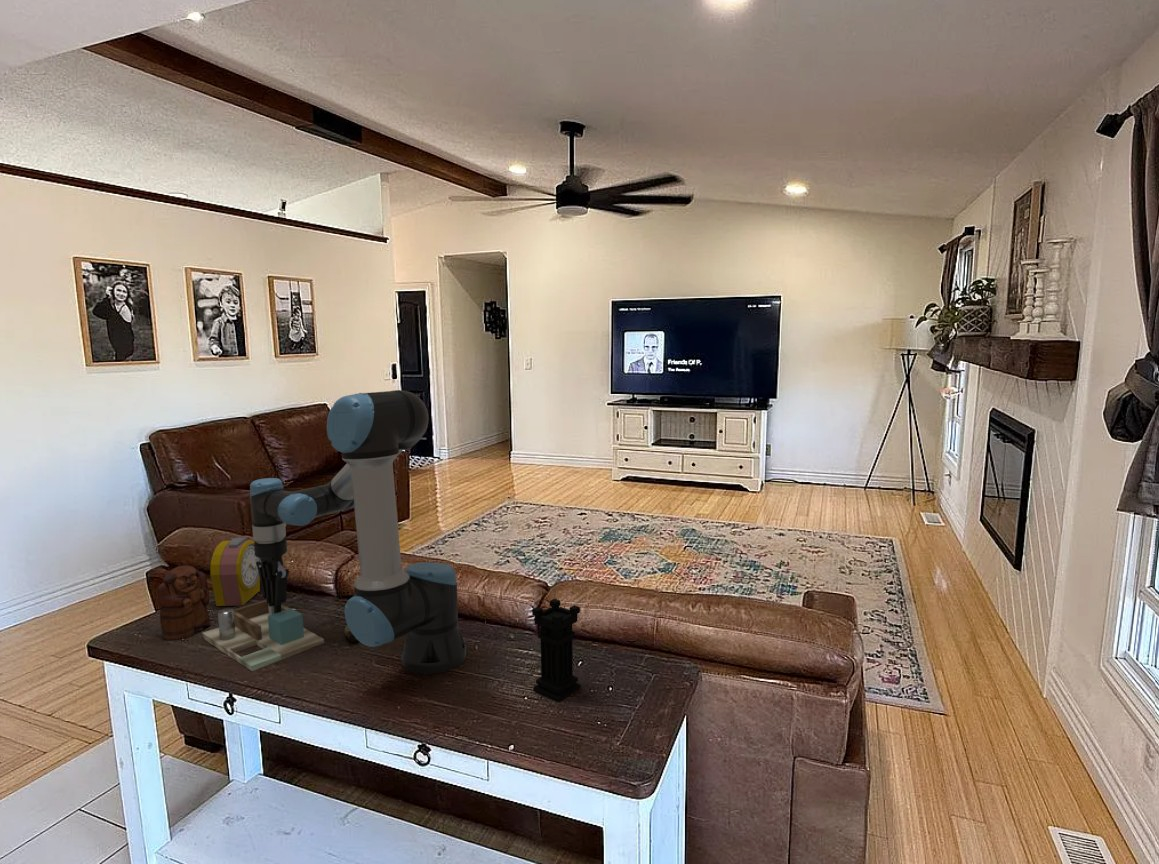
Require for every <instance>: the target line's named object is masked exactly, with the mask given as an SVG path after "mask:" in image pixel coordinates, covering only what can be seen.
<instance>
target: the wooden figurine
mask: <svg viewBox="0 0 1159 864" xmlns="http://www.w3.org/2000/svg"><path fill="white" fill-rule="evenodd" d="M162 581H163V582H162V583H161V584H160V585H159V586H158V587H157V604H158V605H160V606H161V607H160V610H159V619H160V620H159V621H160V627H161V631H162V634H163V638H164V639H165V640H170V641H171V640H182V639H186V638H189V637H193V635H194V634H198V633H199V632H201V631H203V630H204V629H205V628H206V627H210V626H211V625H212V624H211V620H210V619H211V618H210V614H209V610H208V607H207V605H209V603H210V590H209V588H208V587H209V586H208V580H207V575H206V574H205V572H203V571H200V570H198V569H197V568H196V567H193V566H190V565H180V566H176V567H174V568H172V569H171V570H169V571H168V572H167V573H166V574H165V576H164V577H163V578H162Z"/></svg>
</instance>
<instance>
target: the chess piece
mask: <svg viewBox="0 0 1159 864" xmlns="http://www.w3.org/2000/svg"><path fill="white" fill-rule="evenodd" d="M580 613H581V607H580V606H578V605H575V604H573V605H571V606H569V609H567V608H566V607H562V606H561V599H560V600H559V599H557V598H553V599H551V600H549V607H548V608H545V609H543V608H542V607H539V606H536V607H534V608H532V610H531V614H532V616H534V624H535V625H538V626H540V630H539V631H540V632H539V633H537V638H538V639H540V676H539V677H538V678H537V679H535V684H536V685H534V686H533V692H536V693H538V694H540V695H543V696H544V697H546V698H549V699H551V700H553V701H555V702H557V703H560V702H561V701H563V700H565V699H566V698H567V697H569V696H570V695H572V694H574V693H575V692H577V691H578V690H579V689H581V687H582V685H581V684H580V683H578V681H579V677H578V676H574V672H573V671H574V670H573V663H574V661H573V655H574V654H573V638H574V637H575V636H576V632H575V631H573V625H574V624H575V623H577V622H578V618H579V617H578V614H580Z"/></svg>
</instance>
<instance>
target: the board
mask: <svg viewBox="0 0 1159 864" xmlns="http://www.w3.org/2000/svg"><path fill="white" fill-rule="evenodd" d="M268 616H269V613H266V614H263V615H260V616H257V617H254V618H251V619H249V620H251V621H253V622H255V623H256V624H258V625H260V626H261V632H262V640H259V641H258V640H256V639H254V638H253V637H251V636H250V635H248V634H246V633H245V632H243V631H241V630H240V629H238V628H237V627H235V634H236V636H235V638H233V639H230V640H226V641H222V640H220V637H219V626H218V627H216V628H213V629H210V630H207V631H203V632H202V633H201V634H202V639H203V640H204V641H206V642H208V643H209V644H210V645H212V646H213V647H215V648H216V649H217V650H219V651H220V652H222V653H224V654H225V655H226V656H228V657H229V658H232V660H234V661H236V662H238V663H239V664H240V665H242V666H244V667H245V668H246V669H248V670H250V671H251V672H254V671H257V670H258V669H261V668H264V667H267V666H269V665H271V664H274V663H277V662H280V661H281V660H284V659H288V658H290V657H292V656H295V655H297V654H299V653H303V652H305V651H308V650H310V649H314V648H315V647H318V646H321V645H324V644H325V639H324V638H323V637H321V636H319V635H317V634H316V633H314V632H312V631H310V630H308V629H307V628H305V627H303V629H304V637H302V638H299V639H296V640H294V641H291V642H288V643H286V644H283V645H280V644H278V643H276V642H275V641H273V640H272V639H270V638H269V625H268ZM254 646H258V647H259V648H261V649H260V650H257V651H254V652H251V653H249V654H246V655H243V656H241V655H239V654H237V653H238V652H241V651H244V650H246V649H249V648H252V647H254Z"/></svg>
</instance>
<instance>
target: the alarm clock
mask: <svg viewBox="0 0 1159 864" xmlns="http://www.w3.org/2000/svg"><path fill="white" fill-rule="evenodd" d="M254 542H255V540H252V539H251V540H250V539H249V540H248V537H233V538H232V539H231V540H223V541H220V543H218V545H216V547H215V549H214V551H213V554H212V557H211V562H210V568H209V569H210V579H211V584H212V590H213V596H214V600H215V605H216V607H223V606H224V607H228V606H230V607H231V606H233V607H234V606H235V607H237V606H239V607H240V606H244V605H245V604H246V603H247V602H249V601H250V600H251V599H252V598H253V597H255V596H256V594H258V593H259V592H260V591H261V582H260V577H259V572H258V568H257V565H256V562H258V561H261V558H258V557H256V556H255V551H254Z"/></svg>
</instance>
